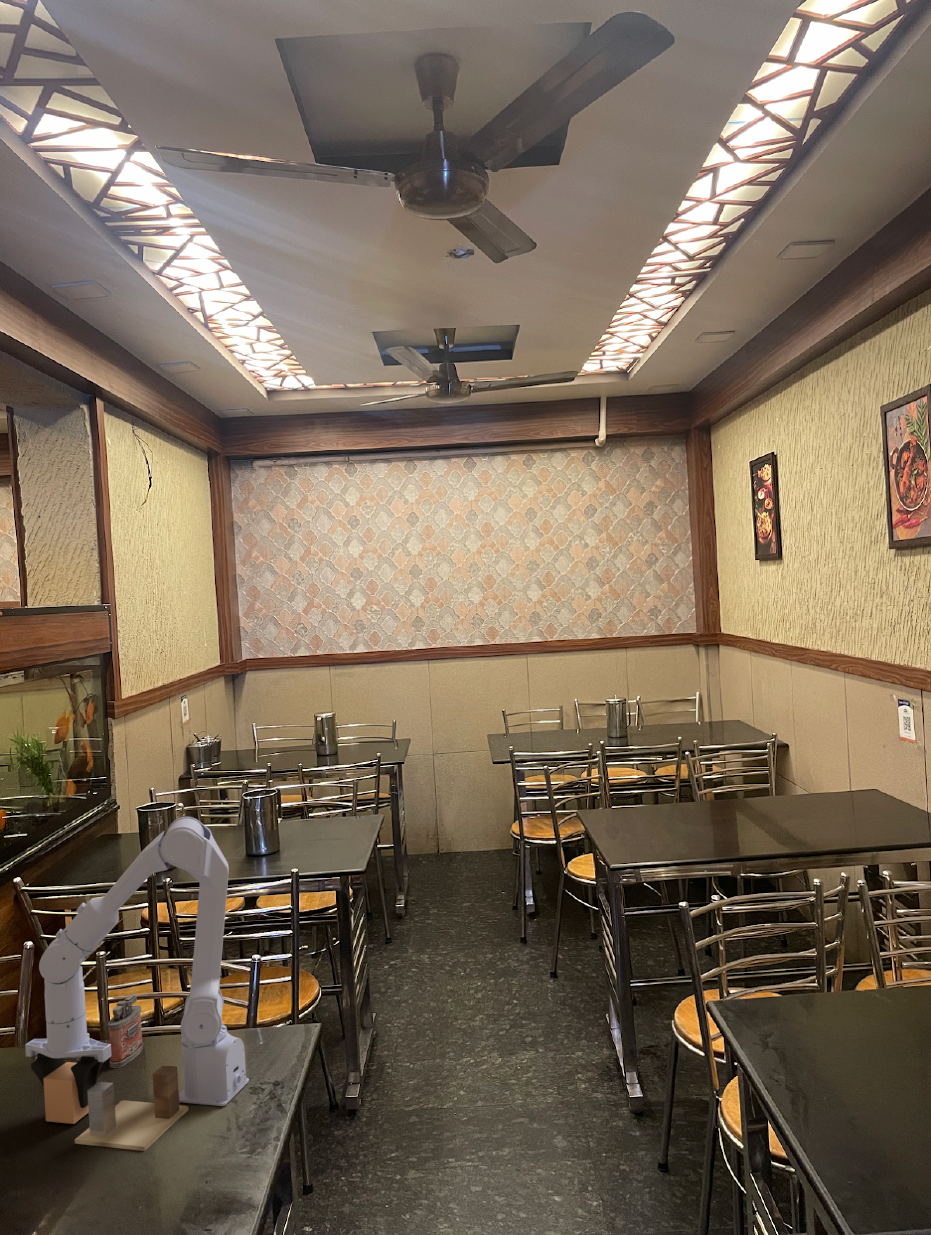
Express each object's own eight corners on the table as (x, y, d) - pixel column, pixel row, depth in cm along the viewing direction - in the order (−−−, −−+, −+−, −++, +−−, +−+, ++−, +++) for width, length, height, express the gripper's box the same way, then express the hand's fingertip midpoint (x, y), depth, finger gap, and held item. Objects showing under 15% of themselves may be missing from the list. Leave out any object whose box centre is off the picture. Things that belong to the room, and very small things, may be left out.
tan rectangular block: (96, 1105, 140) (94, 1064, 140) (74, 1123, 135) (71, 1080, 135) (69, 1103, 141) (67, 1061, 141) (45, 1121, 136) (43, 1078, 136)
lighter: (122, 1068, 153) (119, 1010, 153) (105, 1067, 154) (101, 1010, 154) (148, 1046, 161) (144, 991, 161) (131, 1045, 162) (128, 991, 162)
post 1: (116, 1127, 133) (113, 1082, 133) (104, 1137, 130) (102, 1091, 130) (101, 1126, 133) (99, 1081, 133) (89, 1135, 131) (87, 1090, 131)
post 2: (179, 1109, 136) (177, 1066, 137) (169, 1119, 134) (167, 1074, 134) (165, 1108, 137) (162, 1065, 137) (155, 1117, 135) (152, 1073, 135)
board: (188, 1110, 137) (187, 1106, 137) (144, 1150, 127) (144, 1146, 127) (122, 1103, 141) (122, 1100, 141) (74, 1143, 130) (74, 1139, 130)
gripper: (121, 1007, 140) (126, 1093, 140) (46, 1003, 144) (51, 1086, 144) (91, 1027, 133) (97, 1117, 133) (13, 1022, 137) (18, 1109, 137)
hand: (71, 1102), depth 138 cm, fingers closed on tan rectangular block, 5 cm apart
